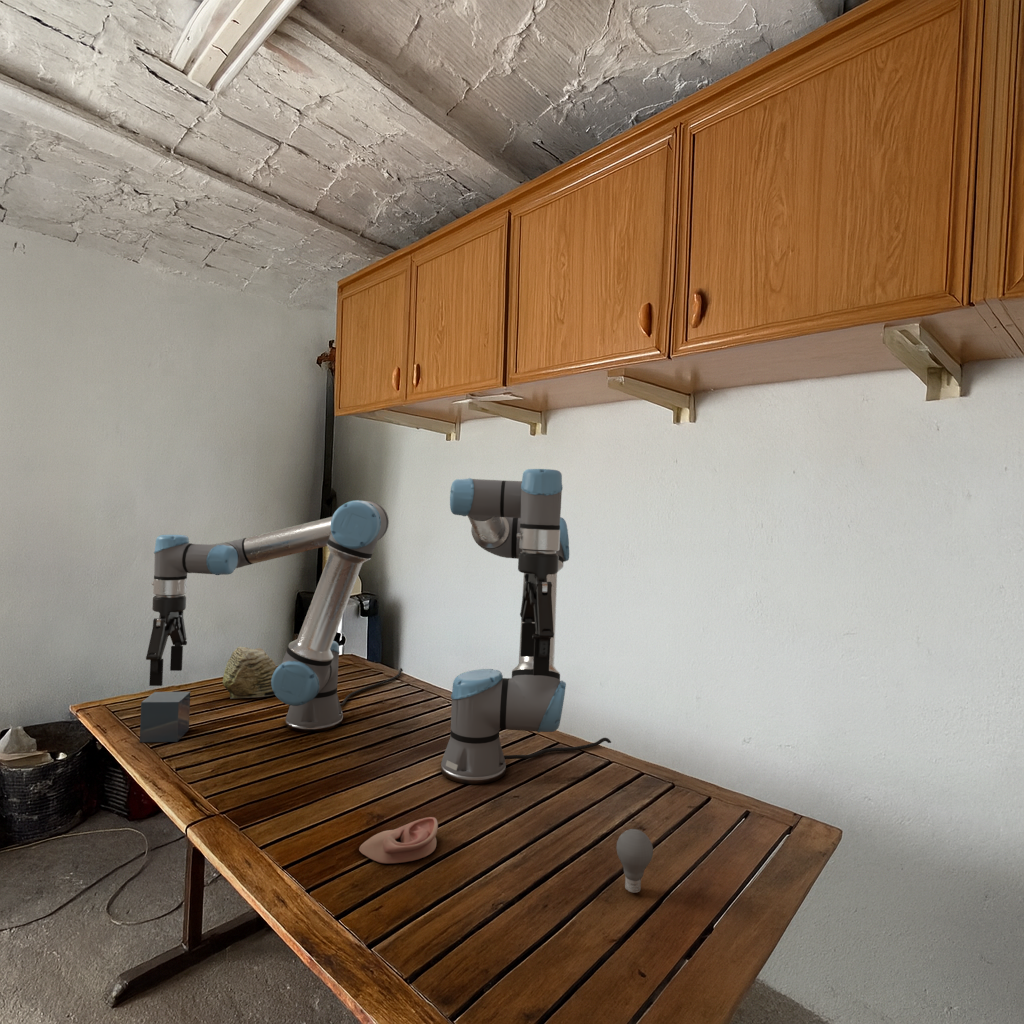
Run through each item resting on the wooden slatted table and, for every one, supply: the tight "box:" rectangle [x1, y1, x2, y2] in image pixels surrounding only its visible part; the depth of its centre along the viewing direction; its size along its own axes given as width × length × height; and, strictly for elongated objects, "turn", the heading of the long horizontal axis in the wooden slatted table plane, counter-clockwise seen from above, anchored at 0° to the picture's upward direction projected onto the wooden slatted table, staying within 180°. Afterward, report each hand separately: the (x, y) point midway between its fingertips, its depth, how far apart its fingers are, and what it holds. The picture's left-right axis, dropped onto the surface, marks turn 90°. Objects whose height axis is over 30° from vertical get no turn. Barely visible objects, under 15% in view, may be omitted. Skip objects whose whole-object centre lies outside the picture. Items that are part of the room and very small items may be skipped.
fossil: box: [222, 646, 277, 699], centre depth 198 cm, size 9×18×15 cm, turn 132°
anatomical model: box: [358, 816, 439, 864], centre depth 116 cm, size 13×4×12 cm
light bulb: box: [615, 828, 654, 894], centre depth 106 cm, size 6×6×10 cm
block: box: [139, 691, 191, 743], centre depth 163 cm, size 8×9×10 cm
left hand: (166, 677), depth 162 cm, fingers open, 13 cm apart
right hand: (533, 665), depth 118 cm, fingers open, 13 cm apart
